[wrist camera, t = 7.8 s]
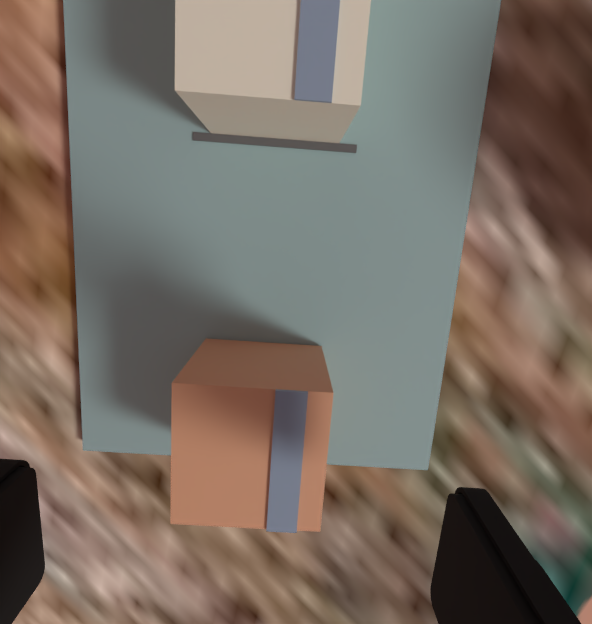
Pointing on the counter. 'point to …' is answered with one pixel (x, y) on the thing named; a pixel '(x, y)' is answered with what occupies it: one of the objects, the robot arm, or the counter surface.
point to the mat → (272, 225)
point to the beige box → (272, 65)
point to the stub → (250, 436)
